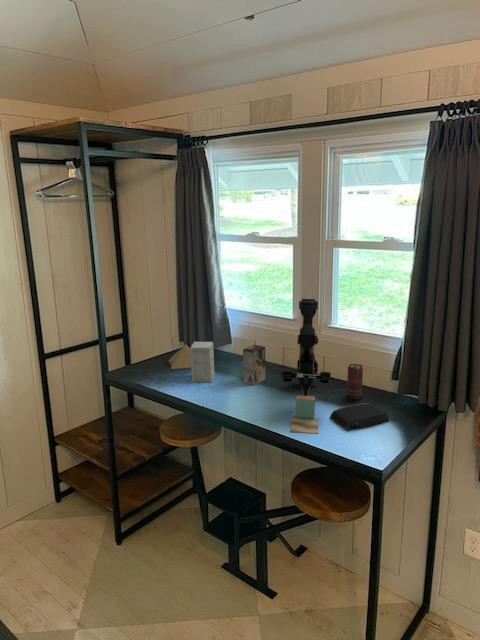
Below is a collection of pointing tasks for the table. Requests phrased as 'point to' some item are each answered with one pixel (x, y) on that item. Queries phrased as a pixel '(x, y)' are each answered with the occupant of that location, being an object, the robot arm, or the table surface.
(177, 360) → the model pyramid
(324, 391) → the table surface
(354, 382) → the can
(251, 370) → the coffee box
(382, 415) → the external hard drive
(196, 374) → the supplement box
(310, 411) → the block
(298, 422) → the brass plate
